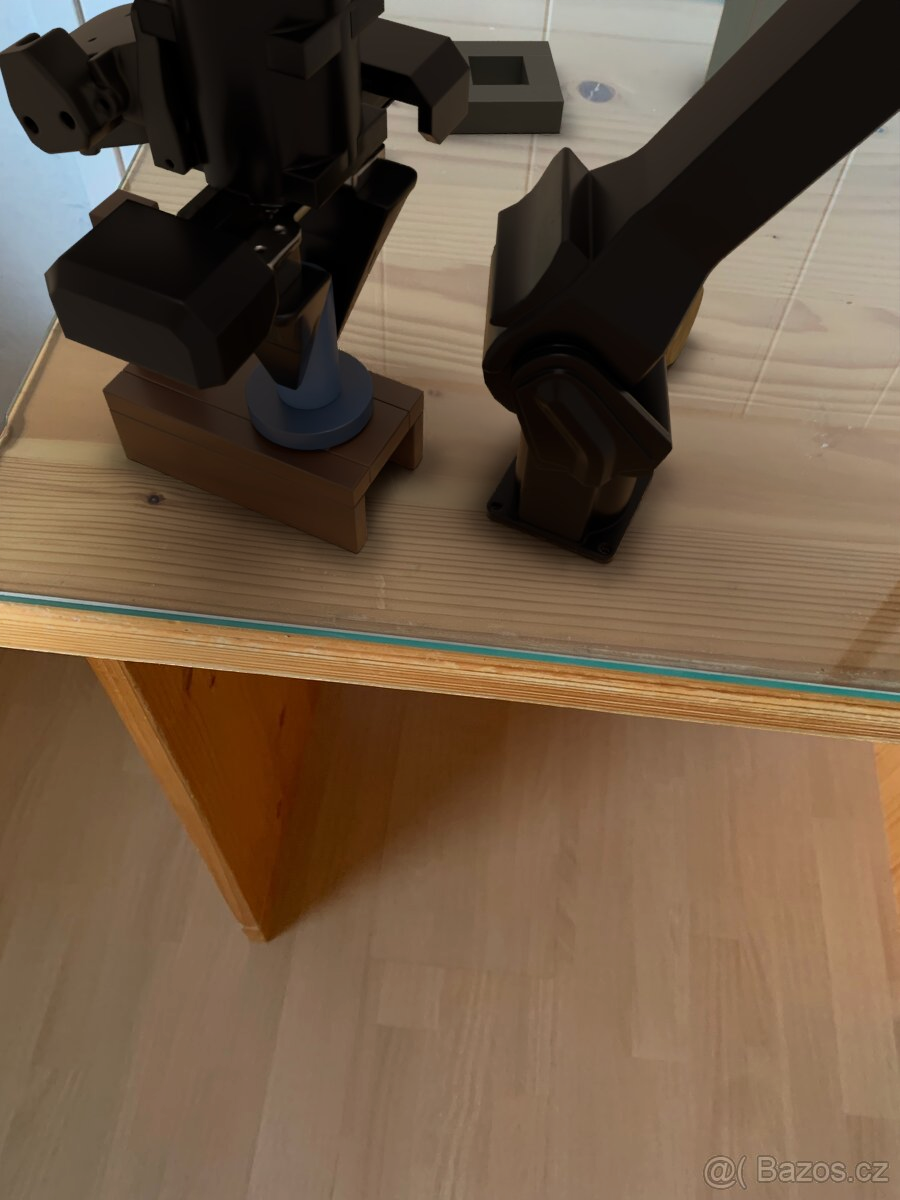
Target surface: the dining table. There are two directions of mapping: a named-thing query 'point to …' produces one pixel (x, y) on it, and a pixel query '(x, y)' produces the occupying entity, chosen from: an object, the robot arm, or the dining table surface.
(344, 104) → the robot arm
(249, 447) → the stand
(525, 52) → the block
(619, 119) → the dining table surface
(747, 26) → the bottle
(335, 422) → the peg
